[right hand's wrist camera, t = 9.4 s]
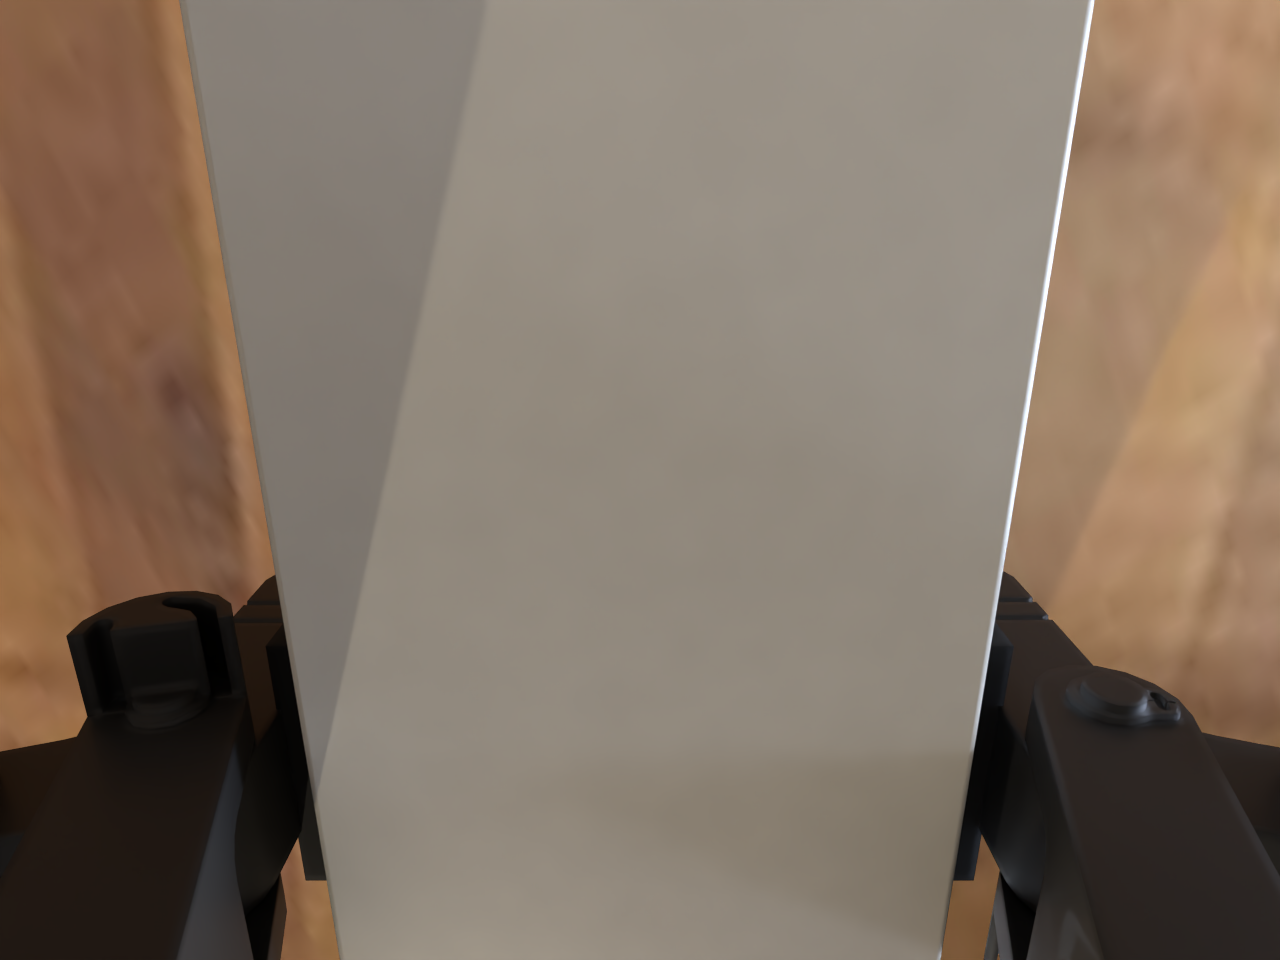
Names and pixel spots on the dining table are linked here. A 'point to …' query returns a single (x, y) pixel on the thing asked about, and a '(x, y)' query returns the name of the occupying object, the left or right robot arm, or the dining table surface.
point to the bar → (638, 446)
